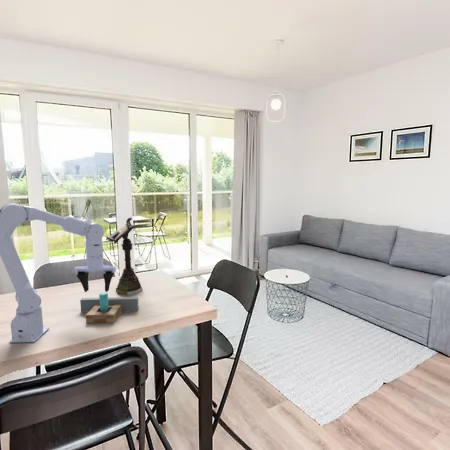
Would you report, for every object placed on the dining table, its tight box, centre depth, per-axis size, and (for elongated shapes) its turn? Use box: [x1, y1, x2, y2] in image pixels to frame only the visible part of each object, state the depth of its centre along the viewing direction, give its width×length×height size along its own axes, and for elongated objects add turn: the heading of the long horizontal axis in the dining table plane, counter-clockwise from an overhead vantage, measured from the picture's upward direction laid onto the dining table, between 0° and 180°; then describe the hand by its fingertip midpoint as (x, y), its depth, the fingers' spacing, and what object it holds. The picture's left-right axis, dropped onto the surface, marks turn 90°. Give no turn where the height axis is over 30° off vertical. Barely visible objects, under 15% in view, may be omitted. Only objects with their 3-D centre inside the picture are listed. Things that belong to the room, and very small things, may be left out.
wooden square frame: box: [85, 304, 123, 324], centre depth 121 cm, size 10×10×3 cm
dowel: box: [98, 292, 109, 312], centre depth 120 cm, size 3×3×9 cm
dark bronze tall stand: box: [105, 217, 143, 296], centre depth 145 cm, size 17×13×35 cm
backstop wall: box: [79, 296, 139, 313], centre depth 128 cm, size 4×22×5 cm, turn 92°
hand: (96, 291), depth 119 cm, fingers open, 7 cm apart
